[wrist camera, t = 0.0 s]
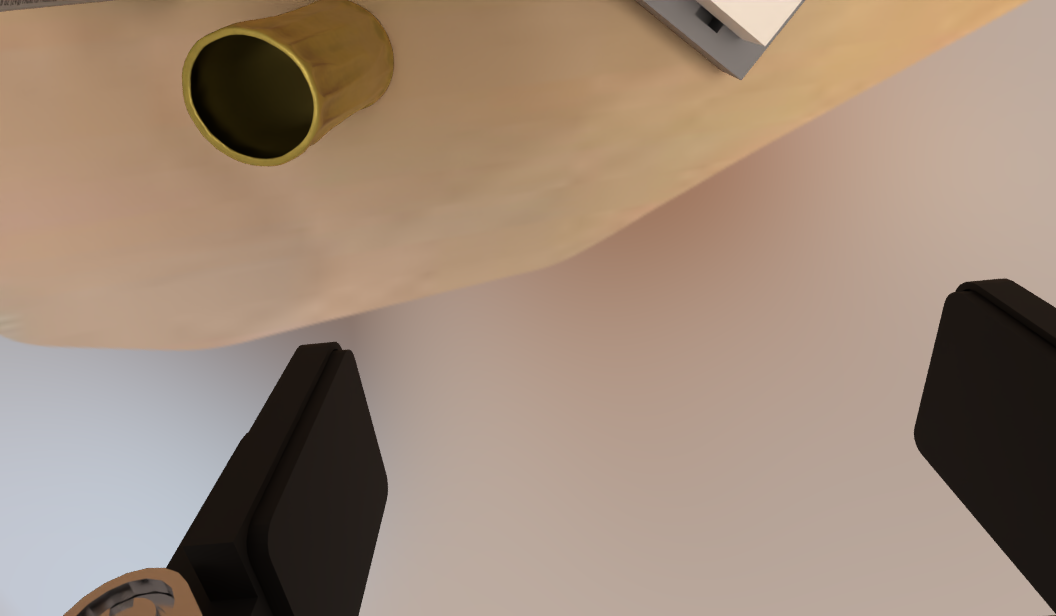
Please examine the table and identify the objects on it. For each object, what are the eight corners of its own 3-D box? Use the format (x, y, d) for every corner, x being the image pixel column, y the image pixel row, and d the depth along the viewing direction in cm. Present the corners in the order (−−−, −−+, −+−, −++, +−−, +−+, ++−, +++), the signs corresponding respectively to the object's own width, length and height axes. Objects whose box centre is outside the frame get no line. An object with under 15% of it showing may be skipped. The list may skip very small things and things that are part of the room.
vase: (290, -14, 35) (164, -6, 22) (400, 12, 36) (338, 35, 23) (285, 97, 38) (171, 160, 25) (388, 120, 39) (326, 192, 26)
